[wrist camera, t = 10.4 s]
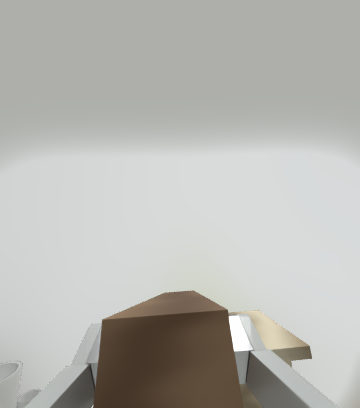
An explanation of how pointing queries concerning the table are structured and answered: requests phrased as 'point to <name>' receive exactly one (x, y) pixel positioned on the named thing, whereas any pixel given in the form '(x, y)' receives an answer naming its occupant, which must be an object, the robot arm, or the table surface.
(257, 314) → the birch stand
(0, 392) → the vase
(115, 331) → the walnut rail
